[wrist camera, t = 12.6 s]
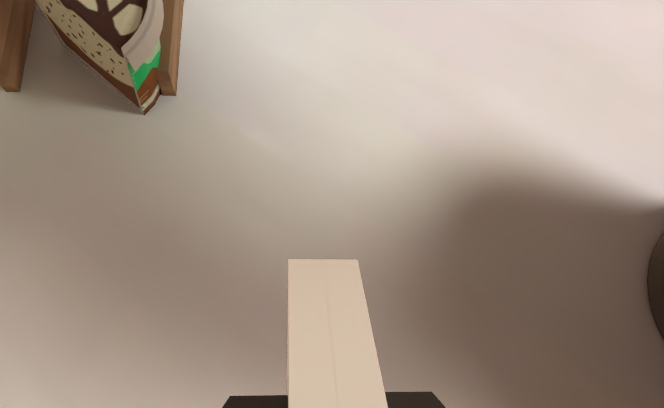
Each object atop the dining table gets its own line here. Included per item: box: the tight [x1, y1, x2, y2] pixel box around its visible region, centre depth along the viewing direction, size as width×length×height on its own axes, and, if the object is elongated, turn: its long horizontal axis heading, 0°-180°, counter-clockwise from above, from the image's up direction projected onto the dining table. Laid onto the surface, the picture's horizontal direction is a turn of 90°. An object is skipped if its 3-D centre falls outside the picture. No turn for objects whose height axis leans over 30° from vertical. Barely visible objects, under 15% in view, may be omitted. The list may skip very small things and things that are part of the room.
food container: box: [35, 0, 164, 115], centre depth 45 cm, size 12×6×10 cm, turn 49°
